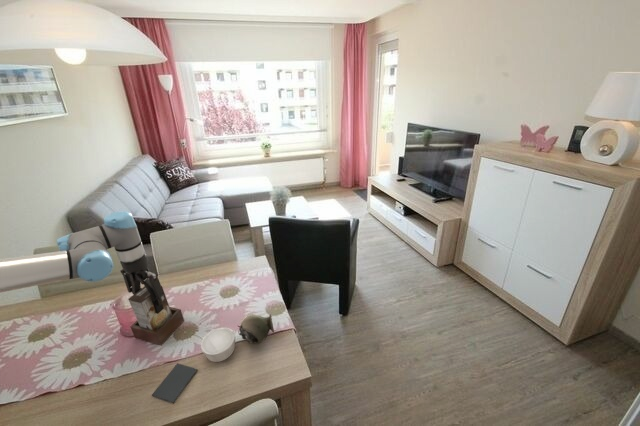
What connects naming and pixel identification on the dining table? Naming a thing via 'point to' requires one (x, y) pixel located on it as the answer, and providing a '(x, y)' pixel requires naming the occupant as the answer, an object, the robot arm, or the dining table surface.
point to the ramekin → (218, 344)
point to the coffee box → (149, 310)
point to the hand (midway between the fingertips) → (152, 308)
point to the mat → (174, 383)
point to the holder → (162, 332)
